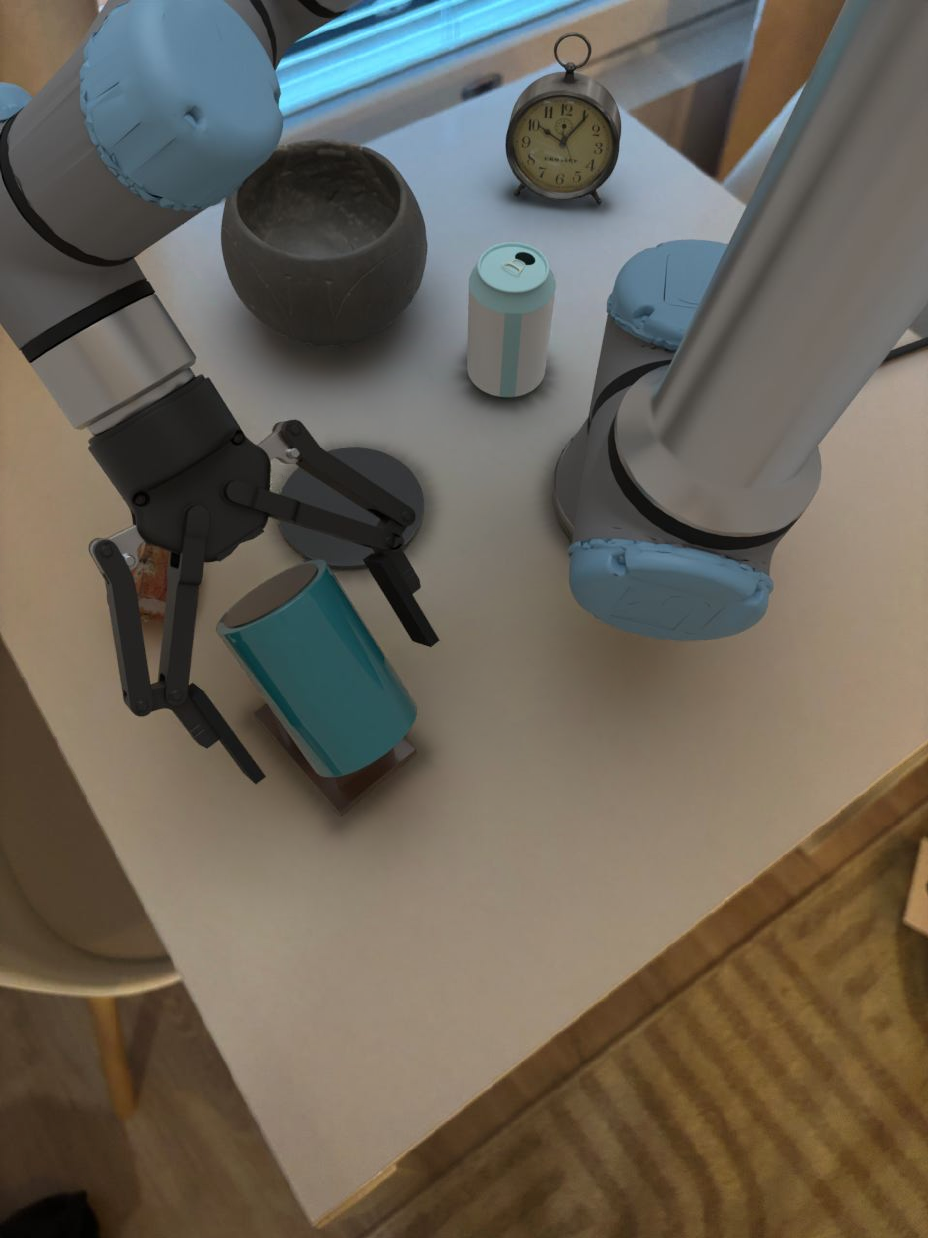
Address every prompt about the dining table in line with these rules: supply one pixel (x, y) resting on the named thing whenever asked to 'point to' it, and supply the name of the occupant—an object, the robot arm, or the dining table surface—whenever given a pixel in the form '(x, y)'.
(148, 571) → the fruit slice
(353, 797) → the cradle
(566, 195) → the alarm clock
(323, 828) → the dining table surface
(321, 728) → the cup
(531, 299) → the can
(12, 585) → the dining table surface
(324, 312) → the bowl
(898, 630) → the dining table surface
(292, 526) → the coaster
